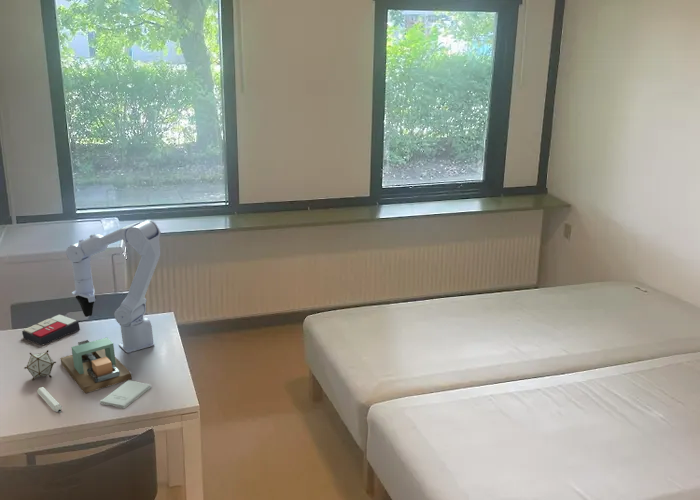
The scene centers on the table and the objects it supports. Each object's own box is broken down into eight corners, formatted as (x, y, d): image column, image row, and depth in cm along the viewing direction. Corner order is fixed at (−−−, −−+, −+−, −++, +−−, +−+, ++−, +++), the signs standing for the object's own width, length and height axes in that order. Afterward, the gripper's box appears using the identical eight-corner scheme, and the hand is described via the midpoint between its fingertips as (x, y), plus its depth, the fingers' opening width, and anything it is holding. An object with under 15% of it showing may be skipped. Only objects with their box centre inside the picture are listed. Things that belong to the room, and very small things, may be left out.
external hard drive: (151, 389, 200) (124, 410, 189) (128, 384, 203) (100, 405, 192) (150, 384, 200) (123, 405, 188) (127, 379, 202) (99, 400, 191)
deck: (105, 351, 223) (104, 345, 222) (131, 378, 205) (131, 373, 204) (61, 363, 215) (60, 357, 214) (84, 393, 197) (83, 387, 196)
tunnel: (109, 357, 214) (107, 337, 212) (115, 363, 210) (113, 343, 208) (74, 367, 208) (71, 347, 206) (79, 374, 204) (76, 353, 201)
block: (108, 369, 206) (106, 356, 205) (113, 375, 203) (111, 362, 201) (93, 374, 204) (91, 360, 202) (98, 380, 200) (96, 366, 199)
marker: (61, 418, 186) (41, 395, 197) (67, 412, 187) (46, 390, 198) (55, 412, 185) (35, 390, 196) (61, 407, 185) (41, 385, 197)
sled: (95, 349, 219) (94, 338, 217) (120, 375, 202) (118, 363, 201) (72, 355, 214) (71, 344, 213) (95, 382, 198) (93, 370, 196)
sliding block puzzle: (20, 329, 232) (59, 312, 244) (23, 340, 233) (61, 323, 245) (40, 336, 226) (78, 319, 238) (42, 348, 228) (80, 330, 239)
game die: (46, 389, 206) (40, 375, 198) (21, 378, 207) (15, 364, 199) (64, 365, 212) (59, 351, 204) (40, 355, 212) (34, 339, 204)
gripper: (64, 274, 226) (69, 311, 230) (77, 286, 215) (82, 325, 219) (85, 269, 230) (90, 306, 235) (99, 281, 219) (104, 320, 224)
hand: (88, 315), depth 227 cm, fingers closed
